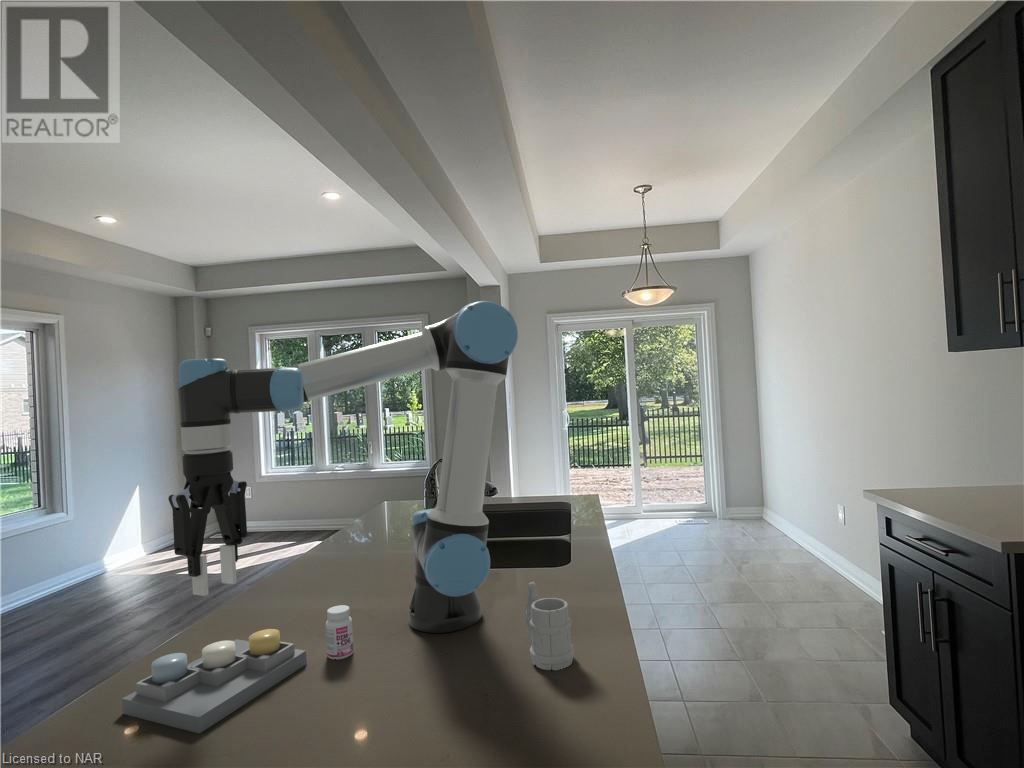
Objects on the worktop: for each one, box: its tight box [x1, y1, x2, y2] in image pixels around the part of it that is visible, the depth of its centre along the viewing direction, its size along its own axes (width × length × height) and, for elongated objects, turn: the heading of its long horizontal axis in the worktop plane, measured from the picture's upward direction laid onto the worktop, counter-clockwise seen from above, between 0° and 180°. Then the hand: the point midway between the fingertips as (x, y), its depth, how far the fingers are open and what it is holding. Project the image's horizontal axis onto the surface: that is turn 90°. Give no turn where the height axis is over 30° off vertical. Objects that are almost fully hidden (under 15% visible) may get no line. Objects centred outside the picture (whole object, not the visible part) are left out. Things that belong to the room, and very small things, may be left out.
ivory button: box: [201, 640, 236, 668], centre depth 99 cm, size 5×5×2 cm
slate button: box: [150, 652, 188, 683], centre depth 95 cm, size 5×5×2 cm
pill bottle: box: [325, 604, 354, 661], centre depth 109 cm, size 5×5×8 cm
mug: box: [525, 581, 575, 671], centre depth 104 cm, size 8×12×12 cm, turn 28°
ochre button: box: [248, 628, 281, 655], centre depth 103 cm, size 5×5×2 cm
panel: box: [121, 638, 308, 734], centre depth 99 cm, size 17×22×4 cm
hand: (215, 588), depth 99 cm, fingers open, 5 cm apart
